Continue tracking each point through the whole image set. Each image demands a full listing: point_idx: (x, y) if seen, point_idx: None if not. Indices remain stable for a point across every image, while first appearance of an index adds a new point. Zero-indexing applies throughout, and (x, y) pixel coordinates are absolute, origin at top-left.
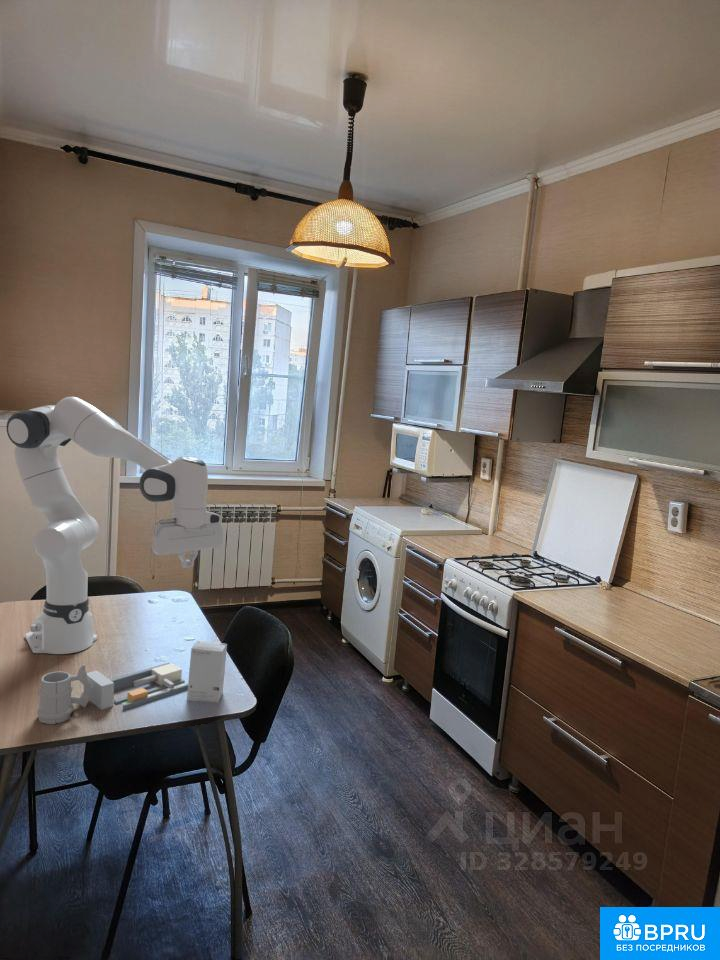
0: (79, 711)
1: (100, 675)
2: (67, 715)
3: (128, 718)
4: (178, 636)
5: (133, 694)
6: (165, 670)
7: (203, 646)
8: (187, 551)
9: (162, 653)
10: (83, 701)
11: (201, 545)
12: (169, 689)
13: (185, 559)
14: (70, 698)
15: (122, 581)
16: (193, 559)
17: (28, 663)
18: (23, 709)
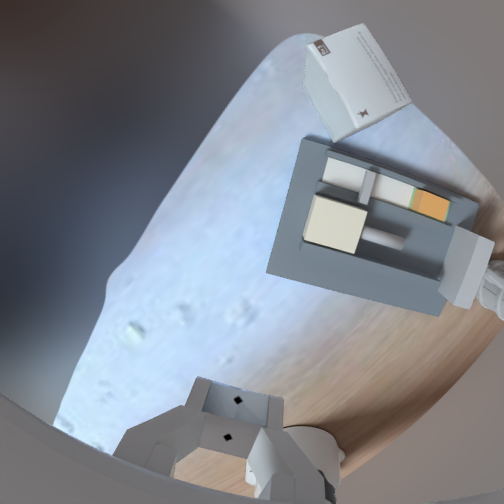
0: None
1: (466, 281)
2: (498, 260)
3: (456, 183)
4: (143, 354)
5: (445, 204)
6: (343, 222)
7: (380, 80)
8: (278, 502)
9: (219, 329)
10: None
11: (59, 477)
12: (361, 184)
13: (276, 444)
14: (501, 274)
15: None
16: (188, 413)
17: (374, 436)
18: (486, 330)
